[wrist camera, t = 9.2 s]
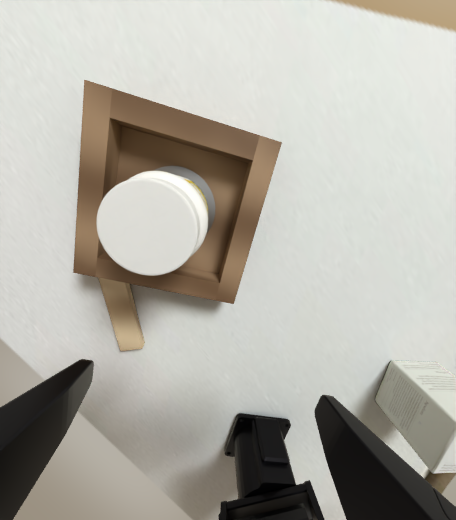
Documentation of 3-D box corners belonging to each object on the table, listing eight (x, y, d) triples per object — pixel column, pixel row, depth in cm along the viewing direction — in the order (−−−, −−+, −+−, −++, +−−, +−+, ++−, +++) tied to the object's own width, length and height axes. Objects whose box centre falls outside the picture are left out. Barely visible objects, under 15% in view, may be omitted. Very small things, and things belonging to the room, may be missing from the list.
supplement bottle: (135, 224, 17) (68, 257, 9) (157, 163, 16) (102, 140, 8) (194, 249, 18) (181, 300, 10) (219, 194, 17) (226, 201, 9)
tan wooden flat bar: (144, 342, 22) (142, 348, 21) (123, 345, 21) (120, 351, 21) (124, 265, 19) (121, 269, 18) (101, 268, 19) (96, 271, 18)
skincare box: (372, 399, 26) (430, 475, 19) (390, 358, 25) (461, 426, 18) (418, 400, 27) (490, 474, 20) (438, 360, 25) (525, 427, 18)
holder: (230, 288, 20) (233, 303, 18) (93, 260, 19) (73, 272, 16) (270, 149, 17) (281, 142, 14) (106, 98, 15) (84, 79, 13)
